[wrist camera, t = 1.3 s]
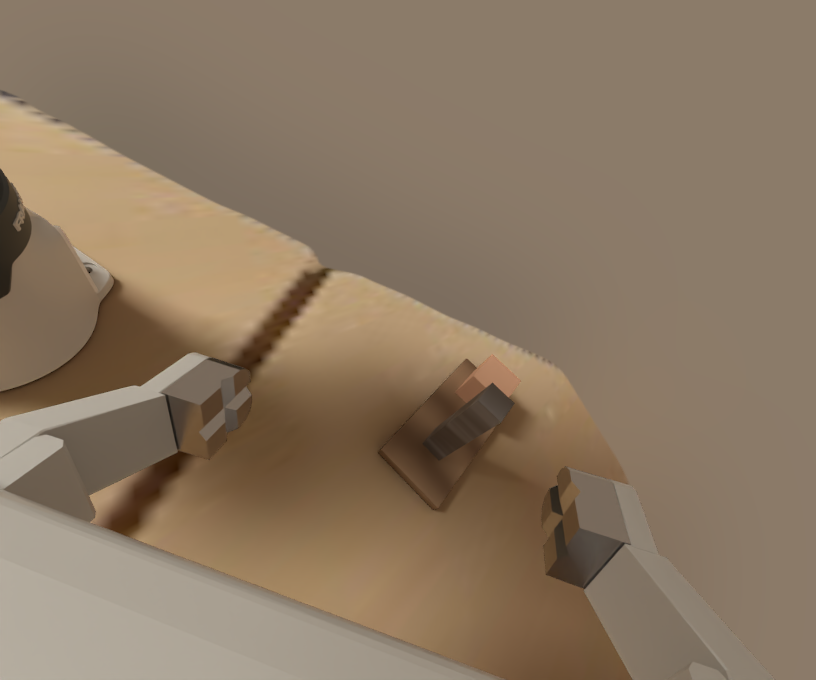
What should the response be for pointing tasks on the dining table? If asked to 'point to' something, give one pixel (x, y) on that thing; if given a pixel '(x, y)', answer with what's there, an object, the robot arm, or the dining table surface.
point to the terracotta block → (488, 379)
